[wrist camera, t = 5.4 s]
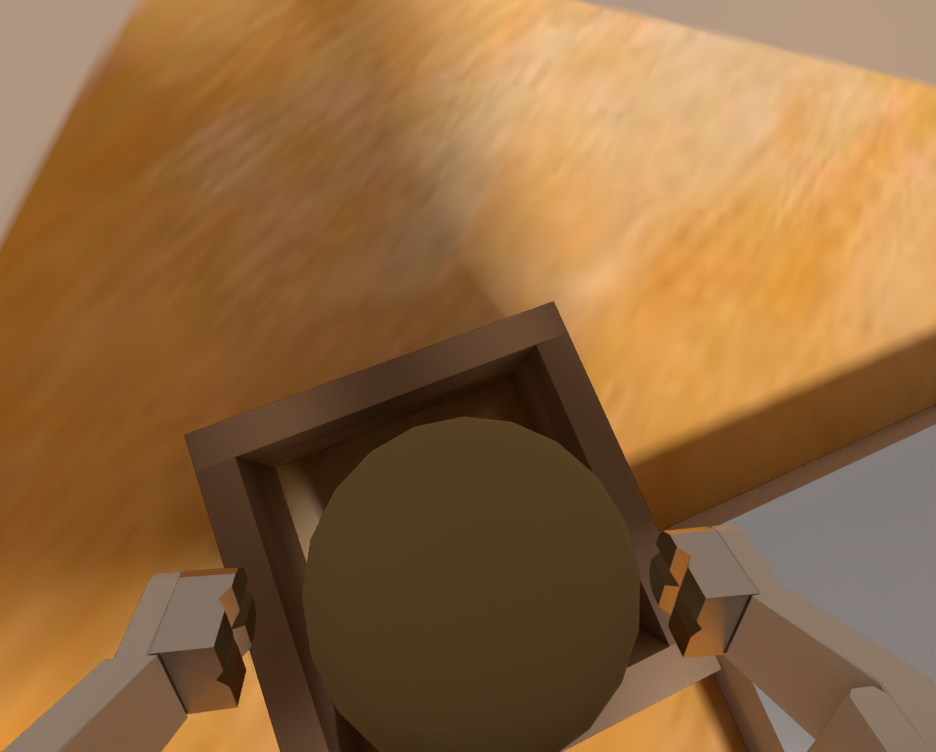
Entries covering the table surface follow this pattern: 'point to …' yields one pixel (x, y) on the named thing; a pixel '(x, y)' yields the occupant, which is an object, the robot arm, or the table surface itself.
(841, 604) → the tray
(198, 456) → the holder
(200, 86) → the table surface
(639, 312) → the table surface
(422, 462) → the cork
